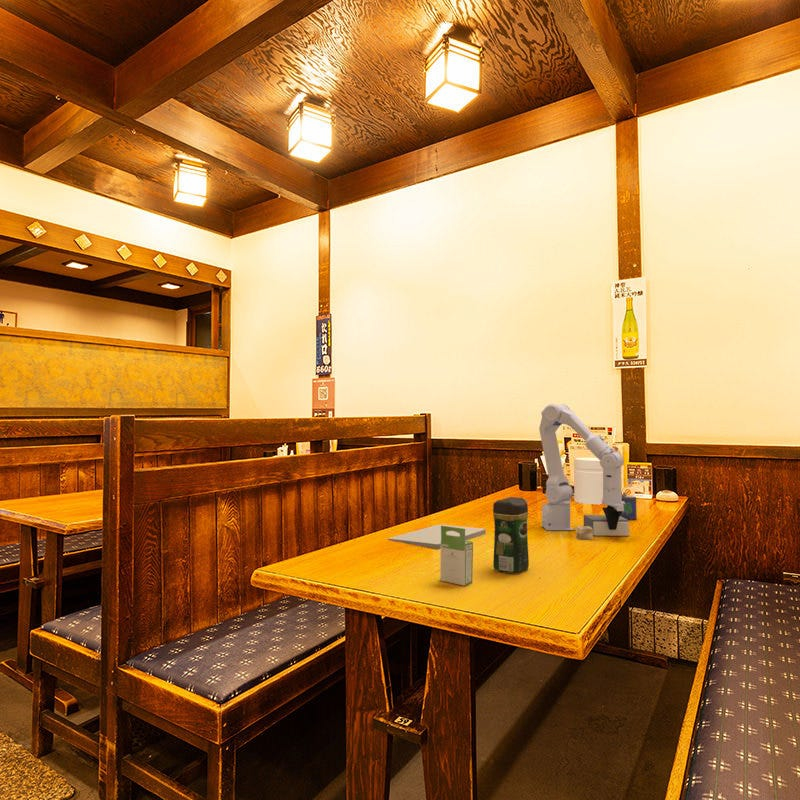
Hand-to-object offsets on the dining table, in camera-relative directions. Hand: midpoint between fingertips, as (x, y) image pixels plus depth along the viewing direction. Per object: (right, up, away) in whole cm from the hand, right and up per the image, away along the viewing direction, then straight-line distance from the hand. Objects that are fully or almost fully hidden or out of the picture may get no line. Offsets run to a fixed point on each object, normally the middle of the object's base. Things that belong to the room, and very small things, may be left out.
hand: (612, 529), depth 179 cm
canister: (+19, -5, +73) cm, 76 cm away
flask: (+17, -4, +30) cm, 35 cm away
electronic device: (-58, -3, -1) cm, 58 cm away
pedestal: (-10, -2, -2) cm, 11 cm away
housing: (0, -3, +6) cm, 7 cm away
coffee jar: (-42, -1, -39) cm, 57 cm away
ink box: (-57, -1, -49) cm, 75 cm away
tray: (0, -3, +6) cm, 7 cm away
